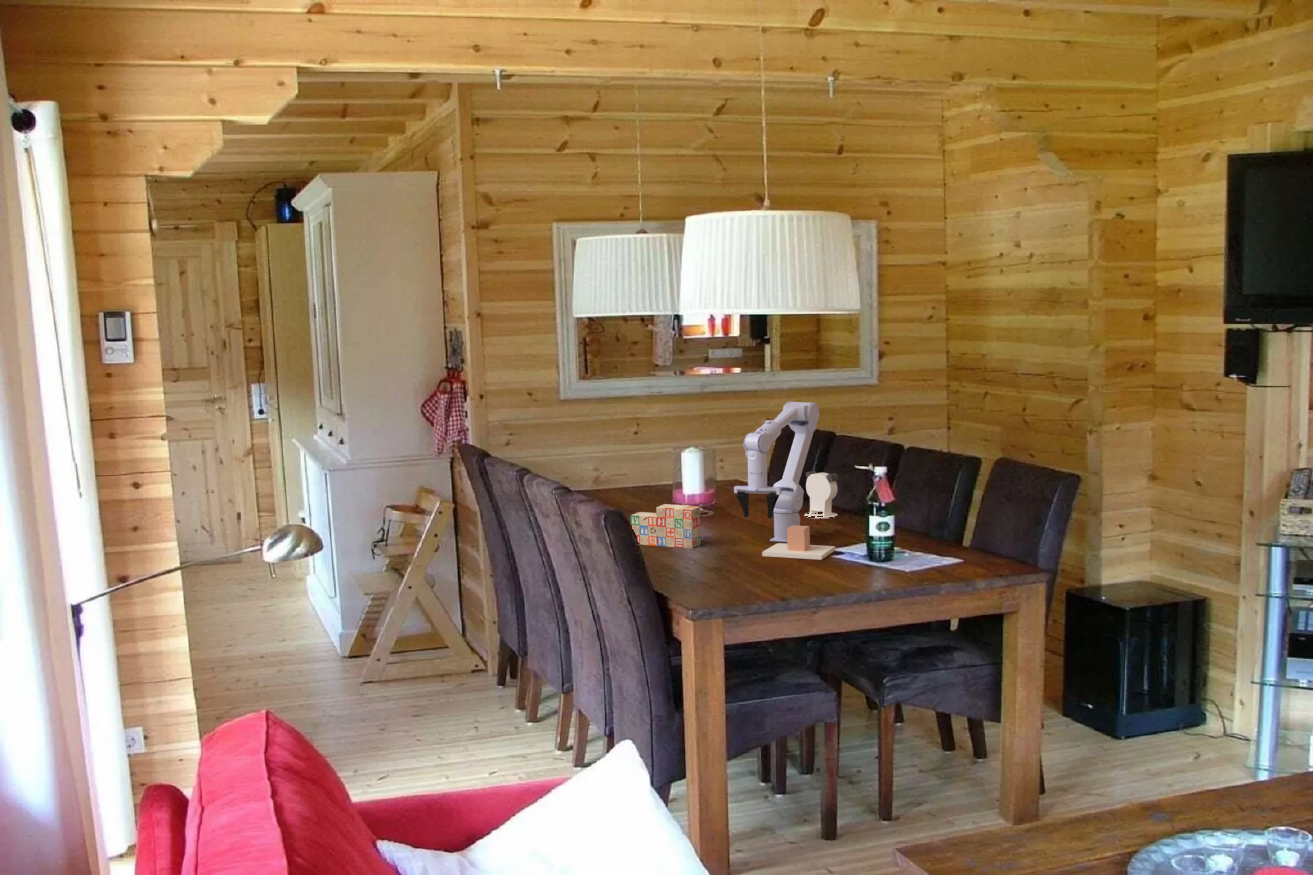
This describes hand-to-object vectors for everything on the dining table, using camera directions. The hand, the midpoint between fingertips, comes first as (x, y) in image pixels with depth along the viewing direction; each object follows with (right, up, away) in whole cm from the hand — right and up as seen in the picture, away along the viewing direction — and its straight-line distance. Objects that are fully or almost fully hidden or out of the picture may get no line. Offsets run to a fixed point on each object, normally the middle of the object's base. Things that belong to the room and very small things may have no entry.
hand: (758, 517), depth 381 cm
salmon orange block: (+11, -9, -9) cm, 17 cm away
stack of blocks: (-28, -9, +11) cm, 31 cm away
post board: (+11, -10, -8) cm, 17 cm away
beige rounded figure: (+26, -3, +54) cm, 60 cm away
